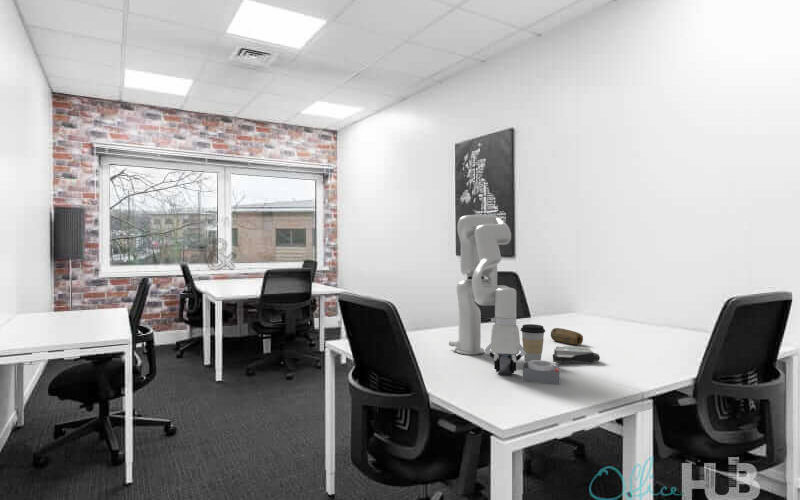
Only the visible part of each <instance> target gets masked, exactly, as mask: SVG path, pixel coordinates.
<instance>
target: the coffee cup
mask: <svg viewBox="0 0 800 500" xmlns="http://www.w3.org/2000/svg"><path fill="white" fill-rule="evenodd" d="M519 332H521V333H522V338H521V340H522V347H523V349H524V350H525V351H526V354H525V355H524V356H523V357H524V363H528V362H529V361H532V360H542V355H543V348H544V335H545V334H544V333H546V329H545V327H544V326H543V325H540V324H534V323H533V324H532V323H531V324H530V323H529V324H523V325H522V327H520V331H519Z"/></svg>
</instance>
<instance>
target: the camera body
mask: <svg viewBox="0 0 800 500" xmlns="http://www.w3.org/2000/svg"><path fill="white" fill-rule="evenodd" d="M522 382H527V383H528V382H529V383H540V384H550V385H560V365H555V362H553V361H548V360H544V359H543V360H542V359H541V360H532V361H529V362H528V363H525V362H523V366H522Z"/></svg>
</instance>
